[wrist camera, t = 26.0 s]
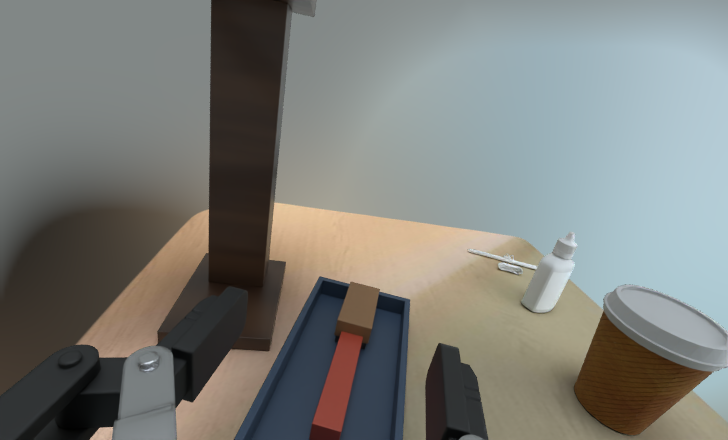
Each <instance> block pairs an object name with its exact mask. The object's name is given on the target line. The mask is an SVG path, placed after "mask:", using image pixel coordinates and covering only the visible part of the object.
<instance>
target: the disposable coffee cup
mask: <svg viewBox="0 0 728 440" xmlns="http://www.w3.org/2000/svg"><path fill="white" fill-rule="evenodd" d="M603 300H604V306H603V308H604V311H603V314H602V317H601V319H600V322H599V324H598V327H597V329H596V332H595V334H594V337H593V339H592V343H591V345H590V347H589V350H588V352H587V355H586V358H585V360H584V363H583V366H582V368H581V371H580V373H579V376H578V378H577V381H576V383H575V386H574V390H575V394H576V396H577V398H578V400H579V401H580V403H581V404H582V405H583V406H584V408H585V409H586V410H587V411H588V412H589V413H590V414H591V415H593V416H594V417H595V418H596V419H597V420H599V421H600V422H601V423H603V424H605V425H606V426H608V427H610V428H612V429H614V430H616V431H618V432H620V433H624V434H628V435H637V434H640V433H641V432H642V431H644V430H645V429H646V428H647V427H648V426H649V425H651V424H652V423H653V422H654V421H655V420H657V419H658V418H659V417H660V416H661V415H663V414H664V413H665V412H666V411H667V410H669V409H670V408H671V407H672V406H673V405H675V404H676V403H677V402H678V401H679V400H680V399H682V398H683V397H684V396H685V395H686V394H688V393H689V392H690V391H691V390H692V389H694V388H695V387H696V386H697V385H698V384H700V383H701V382H702V381H703V380H704V379H705V378H707V377H708V376H709V375H710V374H712V372H714V371H719V370H720V369H722V368H727V367H728V332H727V330H725V329H724V328H723V327H722V326H721V325H720V324H719V323H717V322H716V321H714V320H713V319H712V318H710V317H709V316H707V315H705V314H704V313H702V312H701V311H699V310H697V309H695V308H693V307H691V306H690V305H688V304H686V303H684V302H682V301H680V300H678V299H676V298H673V297H671V296H668V295H666V294H663V293H661V292H658V291H655V290H653V289H649V288H645V287H641V286H637V285H626V284H625V285H621V286H618V287H617V288H616V289H615V290H614V291H613V292H610V293H607V294H606V295H605V297H604V299H603Z"/></svg>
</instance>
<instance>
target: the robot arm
mask: <svg viewBox="0 0 728 440" xmlns="http://www.w3.org/2000/svg"><path fill="white" fill-rule="evenodd" d="M247 303H248V291H246V290H243V289H239V288H235V287H231V286H229V287H227V288H226V289H225V290H224V291H223V292H222V293H221V295H220V296H215V295H211V296H209V297H207V298H205V299H203V300H202V301H200V302H199V303H198V304H197V305H196V306H195V307H194V308H193V309H192V311H191V312H189V313H188V314H187V315H186V316H185V318H184V319H182V320H181V321H180V322H179V323H178V324H177V325H176V326H175V327H174V328H173V329H172V330H171V331H170V332H169V333H168V334H167V335H166V336H165V337H164V338H163V339H162V340H161V341H160V342H159V343H158V344H157V345H156V346H149V347H145V348H142V349H140V350H138V351H136V352H134V353H133V354H131V355H130V356H129V357H125V358H99V353H98V350H97V349H96V348H95V347H93V346H90V345H74V346H70V347H66V348H64V349H61V350H59V351H57V352H55V353H54V354H52V355H51V356H49V357H48V358H47V359H46V360H45V361H43V362H42V363H41V364H40V365H38V366H37V367H36V368H34V369H33V370H32V371H31V372H30V373H28V374H27V375H26V376H25V377H23V378H22V379H21V380H20V381H18V382H17V383H16V384H15V385H13V386H12V387H11V388H10V389H8V390H7V391H6V392H5V393H3V394H2V395H1V396H0V440H89V439H90V438H91V437H92V436H93V435H94V434H95V432H96V431H97V430H98V429H99V428H100V427H113V434H112V440H177V433H176V411H175V408H176V407H177V406H178V404H179V403H180V402H181V400H182V399H183V400H186V401H190V402H193V401H194V400H195V398H196V397H197V396H198V394H199V393H200V391H201V390H202V389H203V387H204V386H205V384H206V383H207V382H208V380H209V379H210V377H211V376H212V374H213V373H214V372H215V370H216V369H217V367H218V366H219V365H220V363H221V362H222V360H223V359H224V358H225V356H226V355H227V353H228V352H229V351H230V349H231V348H232V346H233V345H234V343H235V342H236V341H237V339H238V338H239V336H240V335H241V333H242V331H243V329H244V327H245V323H246V317H247ZM425 390H426V440H488V436H487V430H486V425H485V419H484V414H483V409H482V403H481V398H480V392H479V387H478V381H477V377H476V375H475V374H474V372H473V370H472V369H471V367H470V365H467V364H464V363H461V361H460V354H459V349H458V348H457V347H453V346H449V345H445V344H442V343H439V344H438V346H437V348H436V351H435V354H434V356H433V359H432V362H431V364H430V367H429V370H428V373H427V377H426V386H425Z"/></svg>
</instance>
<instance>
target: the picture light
mask: <svg viewBox="0 0 728 440" xmlns="http://www.w3.org/2000/svg"><path fill="white" fill-rule="evenodd" d="M467 250H468V251H469V252H472V253H474V254H479V255H483V256H486V257H490V258H494V259H498V260H501V261H505V262H507V264H506V263H504V262H502V263H498V267H499V268H500V269H501V270H505V271H509V272H513V273H516V274H522V273H523V271H522V269H521V268H520V267H519V266H513V264H516V265H520V266H524V267H527V268H531V269H535V270H536V269H537V266H534V265H530V264H526V263H522V262H519V261H515V260H514V256H513V255H511V256H513V260H511V258H510V257H511V256H510V257H509V254H508V257H506V255H507V254H506V255H505V256H503V257H500V256H496V255H493V254H489V253H485V252H481V251H478V250H475V249H473V250H472V249H467ZM508 262H509V263H512V265H510V264H508Z"/></svg>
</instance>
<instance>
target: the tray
mask: <svg viewBox="0 0 728 440" xmlns="http://www.w3.org/2000/svg"><path fill="white" fill-rule="evenodd" d="M349 285H350V284H347V283H343V282H340V281H336V280H332V279H328V278H324V277H319V279H318V281H317V282H316V284H315V286H314V288H313V290H312V292H311V294H310V296H309V298H308V300H307V301H306V303H305V305H304V307H303V309H302V311H301V313H300V315H299V317H298V319H297V321H296V322H295V324H294V326H293V328H292V330H291V332H290V334H289V336H288V338H287V340H286V341H285V343H284V345H283V347H282V349H281V351H280V353H279V355H278V357H277V359H276V361H275V362H274V364H273V366H272V368H271V370H270V372H269V374H268V376H267V378H266V380H265V381H264V383H263V385H262V387H261V389H260V391H259V393H258V395H257V397H256V399H255V400H254V402H253V404H252V406H251V408H250V410H249V412H248V414H247V416H246V418H245V420H244V421H243V423H242V425H241V427H240V429H239V431H238V433H237V435H236V437H235V439H234V440H310V439H309V436H310V431H311V426H312V422H313V419H314V416H315V413H316V409H317V406H318V403H319V400H320V397H321V394H322V391H323V388H324V384H325V381H326V378H327V375H328V372H329V369H330V366H331V363H332V359H333V356H334V353H335V350H336V347H337V344H338V342H335V337H336V335H334V333H335V329H336V324H337V319H338V316H339V314H340V311H341V308H342V305H343V302H344V299H345V297H346V294H347V291H348V288H349ZM409 311H410V299H406V298H402V297H398V296H394V295H390V294H386V293H382V292H379V296H378V301H377V306H376V311H375V316H374V321H373V326H372V331H371V334H370V338H369V342H368V344H366V348H365V349H360V352H359V357H358V361H357V366H356V370H355V374H354V379H353V383H352V387H351V392H350V396H349V401H348V405H347V409H346V414H345V418H344V422H343V427H342V431H341V435H340V439H339V440H403V423H404V404H405V385H406V367H407V348H408V329H409Z"/></svg>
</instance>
